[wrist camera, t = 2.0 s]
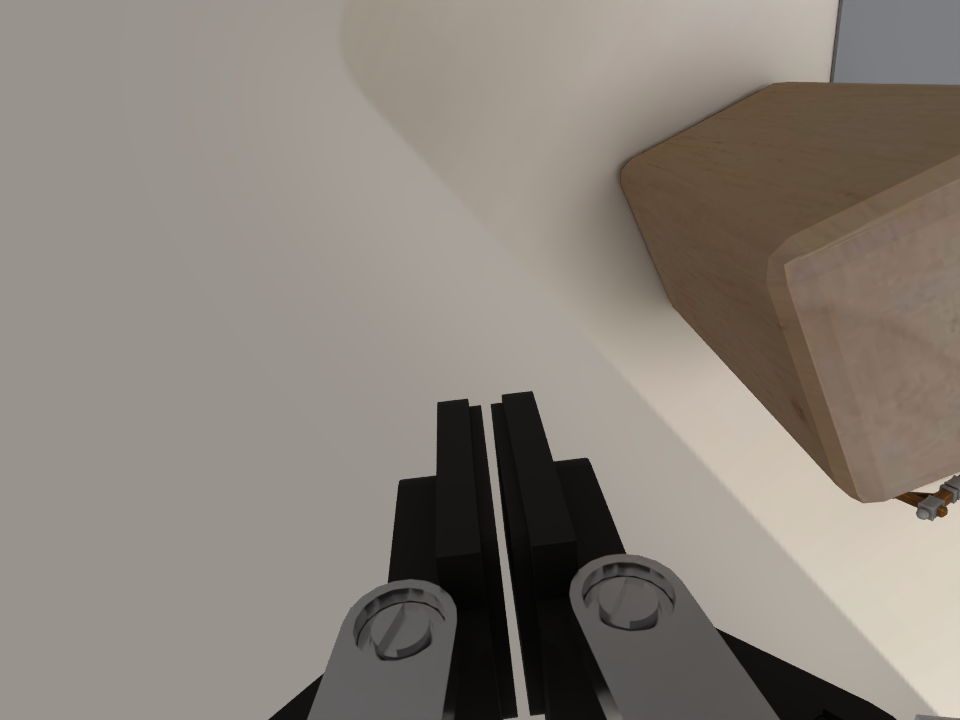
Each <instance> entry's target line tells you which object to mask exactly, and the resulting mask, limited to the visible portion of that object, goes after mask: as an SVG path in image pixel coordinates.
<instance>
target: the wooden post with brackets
mask: <svg viewBox="0 0 960 720" xmlns="http://www.w3.org/2000/svg"><path fill="white" fill-rule="evenodd" d="M912 491H913V490H912ZM894 498H896V499H898V500H901V501H903V502H905V503H907V504H910V505H912V506H914V507H917V508H918V510H917V512H916V515H917V517H918V518H920V519H923V520H925V519H929V520H931V521H933V520H934V518H936V517H937V516H939V517H941V518H942V517H944V516H946V515H947V512H948V510H947V507H946V506H947V505H948V504H949V503H953V504H954V503H955V502H956V501H957V500H959V499H960V475H958V476H955V475H954V476H953V478H951V479H950V480H948V481H946V482H944V484H942V485H941V486H940V489H939V491H938V492H936V493H920V492H907V493H904V494H902V495H899V496H897V497H894ZM894 498H892V499H894Z"/></svg>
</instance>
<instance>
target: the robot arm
mask: <svg viewBox="0 0 960 720" xmlns="http://www.w3.org/2000/svg"><path fill="white" fill-rule="evenodd" d="M491 411H492V421H493V430H494V440H495V448H496V458H497V467H498V476H499V486H500V495H501V504H502V513H503V522H504V531H505V539H506V547H507V554H508V561H509V569H510V576H511V583H512V590H513V596H514V604H515V611H516V619H517V626H518V633H519V640H520V646H521V654H522V661H523V668H524V676H525V683H526V689H527V697H528V704H529V711H530V715H531V716H532V715H540V714H545V720H896V719H895V718H894V717H893V716H891V715H890V714H888V713H886V712H885V711H883V710H881V709H880V708H878V707H877V706H875V705H873V704H872V703H870V702H868V701H866V700H864V699H862V698H860V697H858V696H855V695H853V694H851V693H849V692H847V691H845V690H843V689H841V688H839V687H837V686H835V685H833V684H831V683H829V682H826V681H824V680H822V679H820V678H818V677H816V676H814V675H812V674H810V673H808V672H806V671H804V670H802V669H800V668H797V667H796V666H793V665H791V664H789V663H787V662H785V661H783V660H781V659H779V658H777V657H775V656H773V655H771V654H769V653H767V652H764V651H762V650H760V649H758V648H756V647H754V646H752V645H750V644H748V643H746V642H744V641H742V640H740V639H737V638H735V637H733V636H731V635H729V634H727V633H725V632H723V631H721V630H719V629H717V628H715V627H714V626H713V624H712V623H711V621H710V620H709V619H708V617H707V616H706V614H705V613H704V612H703V610H702V609H701V607H700V606H699V604H698V603H697V602H696V600H695V599H694V597H693V596H692V595H691V593H690V592H689V590H688V589H687V588H686V586H685V585H684V583H683V582H682V581H681V580H680V579H679V577H677V576H676V574H675V573H674V572H673V571H672V570H670V569H669V568H667V567H666V566H664V565H662V564H661V563H659V562H657V561H655V560H652V559H649V558H646V557H643V556H638V555H629V554H626V552H625V549H624V547H623V544H622V542H621V539H620V537H619V534H618V532H617V529H616V527H615V524H614V522H613V519H612V516H611V514H610V511H609V509H608V506H607V504H606V501H605V499H604V496H603V493H602V491H601V488H600V486H599V483H598V481H597V478H596V476H595V473H594V471H593V468H592V465H591V463H590V461H589V459H588V458H580V459H571V460H563V461H554V462H553V459H552V455H551V452H550V449H549V445H548V442H547V438H546V435H545V432H544V428H543V425H542V421H541V418H540V415H539V411H538V408H537V405H536V401H535V398H534V395H533V392H532V391H530V392H521V393H512V394H504V395H502V403H496V404H491ZM515 717H518V714H517V705H516V697H515V688H514V679H513V671H512V662H511V653H510V644H509V636H508V627H507V618H506V610H505V601H504V592H503V584H502V575H501V566H500V558H499V549H498V541H497V533H496V526H495V517H494V508H493V500H492V493H491V484H490V476H489V467H488V459H487V451H486V443H485V435H484V427H483V419H482V410H481V405H479V406H470V407H469V402H468V399H461V400H452V401H445V402H438V403H437V472H436V476H428V477H420V478H411V479H403V480H400V481H399V485H398V493H397V502H396V512H395V522H394V530H393V540H392V549H391V558H390V567H389V577H388V584H385V585H382V586H379V587H377V588H375V589H374V590H372V591H370V592H369V593H367V594H365V595H364V596H362V597H361V598H360V599H359V600H358V601H357V602H356V603H355V604H354V605H353V607H352V608H350V610H349V612H348V614H347V616H346V618H345V619H344V621H343V623H342V626H341V628H340V631H339V634H338V637H337V639H336V642H335V645H334V648H333V650H332V653H331V656H330V659H329V661H328V664H327V667H326V670H325V672H324V674H323V675H321V676H320V677H319V678H318V679H316V680H315V681H314V682H313V683H312V684H310V685H309V686H308V687H307V688H306V689H304V690H303V691H302V692H301V693H300V694H299V695H297V696H296V697H295V698H294V699H292V700H291V701H290V702H289V703H288V704H287V705H285V706H284V707H283V708H282V709H281V710H279V711H278V712H277V713H276V714H275V715H274V716H272V717H271V718H270V719H269V720H503V719H508V718H515ZM915 720H960V718H949V717H938V716H927V715H916V717H915Z"/></svg>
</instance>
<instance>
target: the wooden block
mask: <svg viewBox="0 0 960 720" xmlns="http://www.w3.org/2000/svg"><path fill="white" fill-rule="evenodd" d="M621 186H622V188H623V191H624V193H625V195H626V198H627V200H628V203H629V205H630V207H631V210H632V212H633V214H634V217H635V219H636V221H637V224H638V226H639V229H640V231H641V233H642V236H643V238H644V240H645V243H646V245H647V247H648V250H649V252H650V255H651V257H652V259H653V262H654V264H655V266H656V269H657V271H658V274H659V276H660V278H661V281H662V283H663V285H664V288H665V290H666V292H667V295H668V297H669V300H670V302H671V304H672V306H673V308H674V309H675V310H676V311H677V312H678V313H679V314H680V315H681V316H682V317H683V318H684V320H685V321H686V322H687V323H688V324H689V325H690V326H691V327H692V328H693V329H694V330H695V332H696V333H697V334H698V335H699V336H700V337H701V338H702V339H703V340H704V341H705V342H706V343H707V345H708V346H709V347H710V348H711V349H712V350H713V351H714V352H715V353H716V354H717V355H718V357H719V358H720V359H721V360H722V361H723V362H724V363H725V364H726V365H727V366H728V367H729V369H730V370H731V371H732V372H733V373H734V374H735V375H736V376H737V377H738V378H739V379H740V380H741V382H742V383H743V384H744V385H745V386H746V387H747V388H748V389H749V390H750V391H751V392H752V394H753V395H754V396H755V397H756V398H757V399H758V400H759V401H760V402H761V403H762V404H763V406H764V407H765V408H766V409H767V410H768V411H769V412H770V413H771V414H772V415H773V416H774V418H775V419H776V420H777V421H778V422H779V423H780V424H781V425H782V426H783V427H784V428H785V429H786V431H787V432H788V433H789V434H790V435H791V436H792V437H793V438H794V439H795V440H796V441H797V443H798V444H799V445H800V446H801V447H802V448H803V449H804V450H805V451H806V452H807V453H808V455H809V456H810V457H811V458H812V459H813V460H814V461H815V462H816V463H817V464H818V465H819V467H820V468H821V469H822V470H823V471H824V472H825V473H826V474H827V475H828V476H829V477H830V478H831V480H832V481H833V482H834V483H835V484H836V485H837V486H838V487H839V488H841V489H842V490H843V491H844V492H845V493H846V494H848V495H849V496H850V497H852V498H854V499H856V500H858V501H860V502H862V503H872V502H884V501H887V500H889V499H892V498H894V497H897V496H899V495H902V494H904V493H907V492H909V491H912V490H914V489H917V488H919V487H922V486H924V485H927V484H929V483H932V482H934V481H937V480H939V479H942V478H944V477H947V476H949V475H952V474H954V473H957V472H959V471H960V85H940V84H879V83H818V82H784V83H774V84H772V85H770V86H768V87H766V88H764V89H763V90H761V91H759V92H757V93H755V94H753V95H751V96H749V97H747V98H746V99H744V100H742V101H740V102H738V103H736V104H734V105H732V106H730V107H729V108H727V109H725V110H723V111H721V112H719V113H717V114H715V115H713V116H712V117H710V118H708V119H706V120H704V121H702V122H700V123H698V124H696V125H695V126H693V127H691V128H689V129H687V130H685V131H683V132H681V133H679V134H678V135H676V136H674V137H672V138H670V139H668V140H666V141H664V142H663V143H661V144H659V145H657V146H655V147H653V148H651V149H649V150H647V151H646V152H644V153H642V154H640V155H638V156H636V157H634V158H632V159H631V160H630V161H629V162H628V163H627V164H626V165H625V167H624V168H623V169H622V170H621Z"/></svg>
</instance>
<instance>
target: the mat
mask: <svg viewBox="0 0 960 720" xmlns="http://www.w3.org/2000/svg"><path fill="white" fill-rule="evenodd" d="M830 83H879V84H940V85H960V0H840V3H839V11H838V20H837V29H836V37H835V46H834V54H833V63H832V71H831V80H830Z"/></svg>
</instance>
